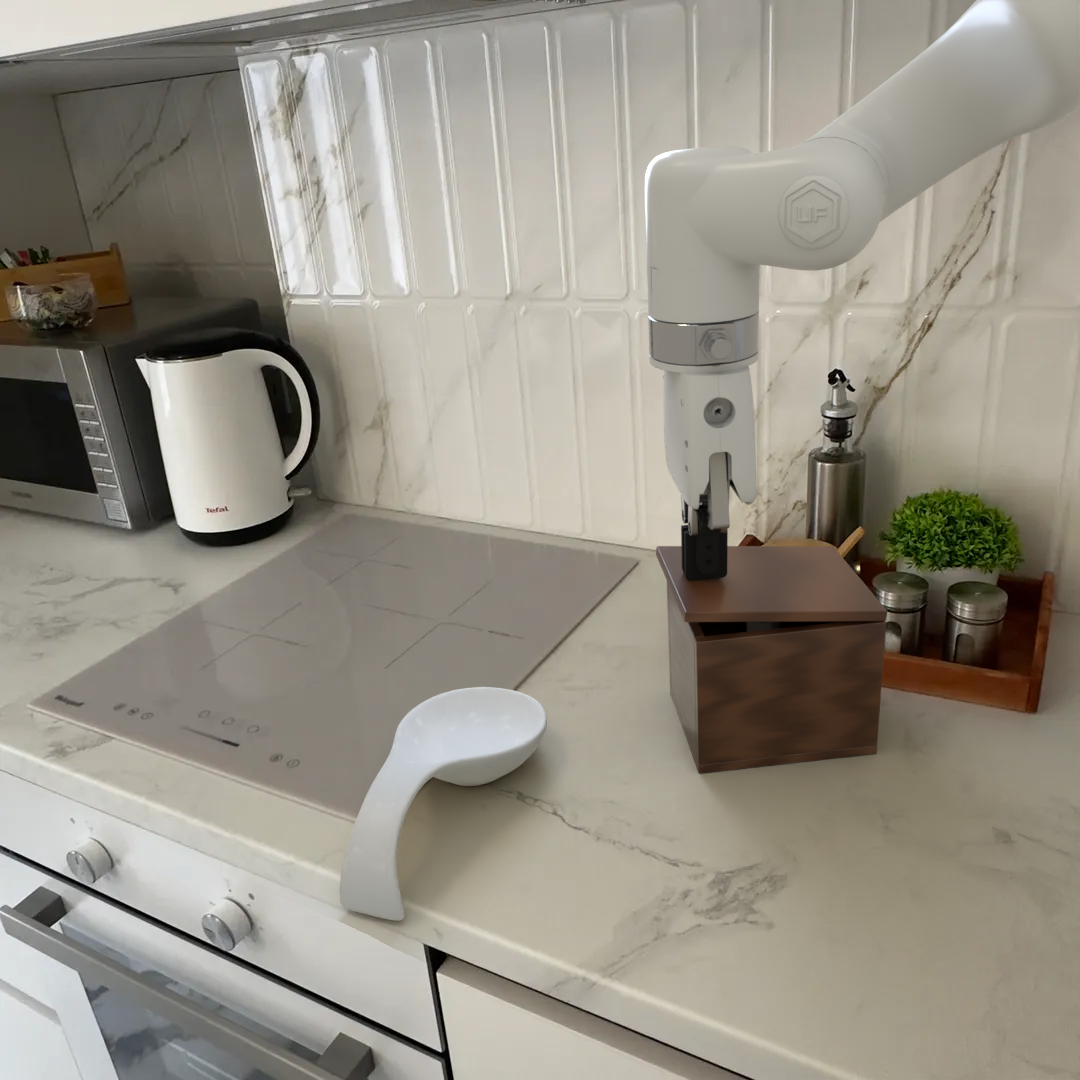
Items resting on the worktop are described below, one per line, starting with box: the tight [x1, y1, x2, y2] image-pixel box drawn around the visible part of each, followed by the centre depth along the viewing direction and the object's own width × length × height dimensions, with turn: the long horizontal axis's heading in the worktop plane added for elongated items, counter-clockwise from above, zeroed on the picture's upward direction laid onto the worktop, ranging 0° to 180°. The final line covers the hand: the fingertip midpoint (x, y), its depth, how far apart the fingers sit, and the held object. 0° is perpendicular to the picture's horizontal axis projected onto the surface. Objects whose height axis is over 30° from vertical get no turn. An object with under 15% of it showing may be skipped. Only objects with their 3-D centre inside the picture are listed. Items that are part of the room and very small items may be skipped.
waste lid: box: [655, 545, 888, 622], centre depth 76 cm, size 15×12×1 cm
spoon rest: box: [339, 686, 548, 922], centre depth 73 cm, size 24×12×7 cm, turn 161°
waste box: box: [666, 581, 887, 774], centre depth 79 cm, size 14×12×12 cm
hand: (704, 574), depth 75 cm, fingers closed
